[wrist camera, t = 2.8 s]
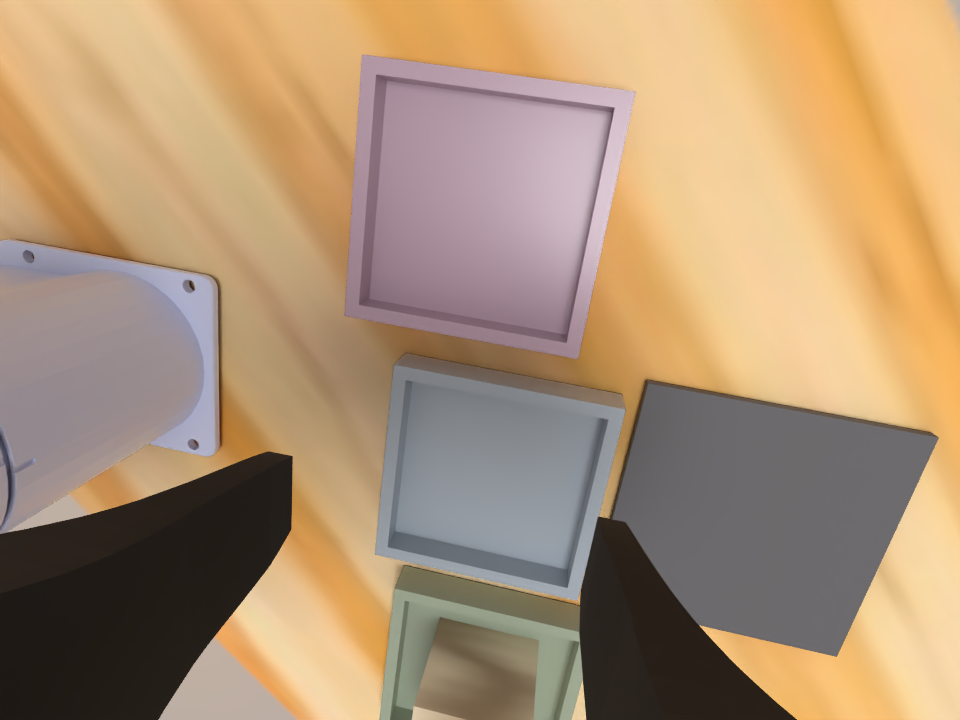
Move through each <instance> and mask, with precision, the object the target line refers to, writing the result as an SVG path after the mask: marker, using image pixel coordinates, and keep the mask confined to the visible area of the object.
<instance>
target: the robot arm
mask: <svg viewBox="0 0 960 720" xmlns="http://www.w3.org/2000/svg"><path fill="white" fill-rule="evenodd" d="M32 253H33V255H34V258H35V259H34V258H33V257H32ZM189 281H192V282H193V283H194V285H195V290H192V289H191V288H190V285H189ZM193 439H194V440H196V441H197V442H198V444H199V446H198V445H196V444H195V442H194V440H193ZM148 444H150V445H154V446H159V447H164V448H168V449H173V450H177V451H182V452H186V453H191V454H196V455H200V456H205V457H209V456H212V455H213V454H215V453H216V452H217V451H218V450H219V446H220V436H219V347H218V287H217V284H216V282H215V280H214V279H213V278H212V277H211V276H208V275H206V274H200V273H195V272H189V271H184V270H178V269H173V268H167V267H162V266H156V265H151V264H145V263H140V262H134V261H129V260H123V259H118V258H112V257H107V256H101V255H96V254H90V253H85V252H80V251H74V250H69V249H63V248H58V247H52V246H47V245H41V244H36V243H30V242H25V241H19V240H14V239H10V240H2V241H0V720H158V719H159V718H160V716H161V714H162V713H163V711H164V709H165V708H166V706H167V705H168V703H169V701H170V700H171V698H172V697H173V695H174V694H175V692H176V690H177V689H178V688H179V686H180V684H181V683H182V681H183V680H184V678H185V677H186V675H187V674H188V672H189V671H190V669H191V667H192V666H193V664H194V663H195V662H196V660H197V659H198V657H199V656H200V655H201V653H202V652H203V651H204V649H205V648H206V647H207V645H208V644H209V643H210V641H211V640H212V639H213V638H214V636H215V635H216V634H217V633H218V631H219V630H220V629H221V628H222V626H223V625H224V624H225V622H226V621H227V620H228V619H229V617H230V616H231V615H232V614H233V612H234V611H235V610H236V609H237V607H238V606H239V605H240V604H241V602H242V601H243V600H244V598H245V597H246V596H247V595H248V593H249V592H250V591H251V590H252V588H253V587H254V586H255V584H256V583H257V582H258V581H259V579H260V578H261V577H262V575H263V574H264V573H265V571H266V570H267V569H268V567H269V566H270V565H271V563H272V561H273V560H274V558H275V556H276V555H277V553H278V552H279V550H280V548H281V546H282V545H283V543H284V541H285V539H286V538H287V536H288V534H289V532H290V531H291V516H292V459H293V456H289V455H284V454H279V453H274V452H265V453H262V454H259V455H256V456H253V457H251V458H248V459H245V460H243V461H240V462H238V463H235V464H233V465H230V466H228V467H225V468H223V469H220V470H218V471H215V472H213V473H210V474H208V475H205V476H203V477H200V478H198V479H195V480H193V481H190V482H188V483H185V484H182V485H180V486H177V487H174V488H171V489H169V490H166V491H163V492H160V493H158V494H155V495H152V496H149V497H147V498H144V499H141V500H138V501H135V502H132V503H128V504H125V505H122V506H119V507H115V508H112V509H108V510H105V511H101V512H98V513H94V514H90V515H87V516H83V517H79V518H74V519H70V520H65V521H61V522H56V523H52V524H48V525H43V526H38V527H34V528H29V529H24V530H19V531H14V532H7V531H9V530H11V529H12V528H14V527H15V526H17V525H19V524H20V523H22V522H23V521H25V520H27V519H28V518H30V517H32V516H33V515H35V514H36V513H38V512H40V511H41V510H43V509H44V508H46V507H48V506H49V505H51V504H53V503H54V502H56V501H57V500H59V499H60V498H62V497H64V496H65V495H67V494H69V493H70V492H72V491H74V490H75V489H77V488H78V487H80V486H82V485H83V484H85V483H86V482H88V481H90V480H91V479H93V478H94V477H96V476H98V475H99V474H101V473H103V472H104V471H106V470H107V469H109V468H111V467H112V466H114V465H115V464H117V463H119V462H120V461H122V460H124V459H125V458H127V457H128V456H130V455H132V454H133V453H135V452H136V451H138V450H140V449H141V448H143V447H144V446H146V445H148ZM6 532H7V533H6ZM579 637H580V650H581V662H582V674H583V685H584V697H585V708H586V720H797V719H795V718H794V717H793V716H792V715H791V714H789V713H788V712H787V711H786V710H785V709H784V708H782V707H781V706H780V705H779V704H778V703H776V702H775V701H774V700H773V699H772V698H771V697H770V696H769V695H767V694H766V693H765V692H764V691H763V690H762V689H761V688H760V687H759V686H758V685H757V684H755V683H754V682H753V681H752V680H751V679H750V678H749V677H748V676H747V675H746V674H745V673H744V672H743V671H742V670H741V669H740V668H738V667H737V666H736V665H735V664H734V663H733V662H732V661H731V660H730V659H729V658H728V657H727V655H726V654H725V653H724V652H723V651H722V650H721V649H720V648H719V647H718V646H717V645H716V644H715V643H714V642H713V641H712V639H711V638H710V637H709V636H708V635H707V634H706V633H705V632H704V631H703V630H702V628H701V627H700V626H699V625H698V624H697V623H696V621H695V620H694V619H693V618H692V616H691V615H690V614H689V613H688V612H687V610H686V609H685V608H684V607H683V605H682V604H681V603H680V602H679V600H678V599H677V598H676V596H675V595H674V594H673V592H672V591H671V590H670V588H669V587H668V585H667V584H666V583H665V581H664V580H663V578H662V577H661V575H660V574H659V573H658V571H657V570H656V568H655V567H654V565H653V564H652V562H651V561H650V559H649V558H648V556H647V555H646V553H645V551H644V550H643V548H642V547H641V545H640V544H639V542H638V540H637V539H636V537H635V536H634V534H633V533H632V531H631V529H630V528H629V526H628V525H627V523H626V522H623V521H618V520H613V519H608V518H603V517H598V518H597V522H596V527H595V531H594V535H593V540H592V544H591V549H590V553H589V557H588V562H587V566H586V570H585V575H584V579H583V583H582V588H581V598H580V627H579Z"/></svg>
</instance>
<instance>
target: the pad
mask: <svg viewBox="0 0 960 720" xmlns="http://www.w3.org/2000/svg"><path fill="white" fill-rule="evenodd" d="M937 441H938V437H937V436H935V435H934V434H933V433H930V432H924V431H919V430H914V429H908V428H903V427H898V426H892V425H887V424H882V423H876V422H871V421H866V420H860V419H855V418H850V417H844V416H839V415H833V414H828V413H823V412H817V411H812V410H807V409H801V408H796V407H791V406H785V405H780V404H775V403H769V402H764V401H759V400H753V399H748V398H743V397H737V396H732V395H726V394H721V393H716V392H710V391H705V390H700V389H694V388H689V387H684V386H678V385H673V384H668V383H662V382H657V381H652V380H647V381H646V385H645V389H644V393H643V397H642V400H641V404H640V408H639V412H638V416H637V419H636V423H635V427H634V431H633V435H632V438H631V442H630V446H629V450H628V454H627V458H626V461H625V465H624V469H623V473H622V477H621V480H620V484H619V488H618V492H617V496H616V500H615V503H614V507H613V511H612V515H611V519H613V520H618V521H623V522H626V523H627V525H628V526H629V528H630V529H631V531H632V533H633V534H634V536H635V537H636V539H637V540H638V542H639V544H640V545H641V547H642V548H643V550H644V551H645V553H646V555H647V556H648V558H649V559H650V561H651V562H652V564H653V565H654V567H655V568H656V570H657V571H658V573H659V574H660V575H661V577H662V578H663V580H664V581H665V583H666V584H667V585H668V587H669V588H670V590H671V591H672V592H673V594H674V595H675V596H676V598H677V599H678V600H679V602H680V603H681V604H682V605H683V607H684V608H685V609H686V610H687V612H688V613H689V614H690V615H691V616H692V618H693V619H694V620H695V621H696V623H697V624H698V625H701V626H705V627H709V628H714V629H718V630H722V631H727V632H731V633H736V634H740V635H744V636H749V637H753V638H757V639H762V640H766V641H770V642H775V643H779V644H784V645H788V646H792V647H797V648H801V649H805V650H810V651H814V652H818V653H823V654H827V655H832V656H836V657H837V655H838V653H839V651H840V649H841V647H842V645H843V642H844V640H845V638H846V636H847V634H848V632H849V629H850V627H851V625H852V623H853V621H854V619H855V617H856V614H857V612H858V610H859V608H860V606H861V604H862V602H863V599H864V597H865V595H866V593H867V591H868V589H869V587H870V584H871V582H872V580H873V578H874V576H875V574H876V572H877V569H878V567H879V565H880V563H881V561H882V559H883V556H884V554H885V552H886V550H887V548H888V546H889V544H890V541H891V539H892V537H893V535H894V533H895V531H896V529H897V526H898V524H899V522H900V520H901V518H902V516H903V514H904V511H905V509H906V507H907V505H908V503H909V501H910V499H911V496H912V494H913V492H914V490H915V488H916V486H917V483H918V481H919V479H920V477H921V475H922V473H923V471H924V468H925V466H926V464H927V462H928V460H929V458H930V456H931V453H932V451H933V449H934V447H935V445H936V443H937Z"/></svg>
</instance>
